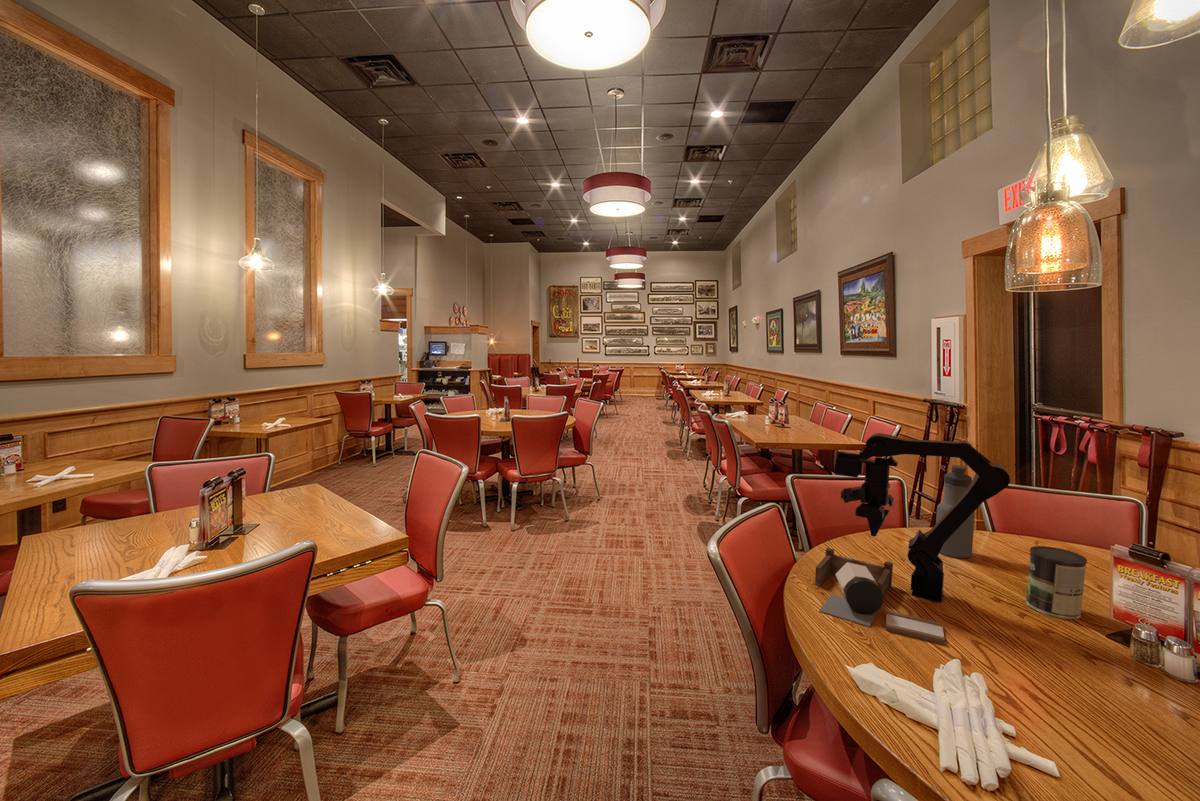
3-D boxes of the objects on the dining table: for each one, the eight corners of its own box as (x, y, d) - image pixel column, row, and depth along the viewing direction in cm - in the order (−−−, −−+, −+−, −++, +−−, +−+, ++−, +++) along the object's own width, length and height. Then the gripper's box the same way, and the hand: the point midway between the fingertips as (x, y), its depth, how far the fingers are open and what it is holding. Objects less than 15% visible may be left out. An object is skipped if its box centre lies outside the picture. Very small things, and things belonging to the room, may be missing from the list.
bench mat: (878, 608, 122) (878, 607, 122) (869, 627, 114) (869, 625, 114) (831, 595, 129) (831, 594, 129) (819, 611, 121) (819, 610, 121)
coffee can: (1023, 608, 123) (1027, 553, 122) (1027, 594, 130) (1032, 542, 129) (1081, 624, 116) (1086, 566, 114) (1082, 609, 123) (1087, 554, 122)
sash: (941, 627, 114) (942, 622, 114) (944, 645, 107) (945, 639, 107) (886, 614, 119) (886, 610, 119) (885, 630, 113) (886, 625, 112)
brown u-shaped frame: (891, 585, 135) (892, 562, 134) (882, 603, 125) (884, 579, 124) (826, 569, 145) (827, 547, 145) (813, 584, 135) (814, 561, 135)
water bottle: (934, 544, 165) (940, 461, 163) (971, 551, 160) (977, 465, 157) (933, 554, 157) (939, 467, 155) (972, 561, 151) (978, 471, 149)
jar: (854, 601, 130) (865, 622, 119) (828, 579, 132) (837, 598, 120) (879, 577, 129) (893, 597, 117) (852, 555, 130) (863, 572, 118)
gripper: (852, 469, 147) (849, 521, 148) (835, 481, 133) (833, 538, 134) (895, 475, 140) (892, 529, 142) (883, 488, 126) (879, 548, 127)
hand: (873, 535), depth 136 cm, fingers closed
